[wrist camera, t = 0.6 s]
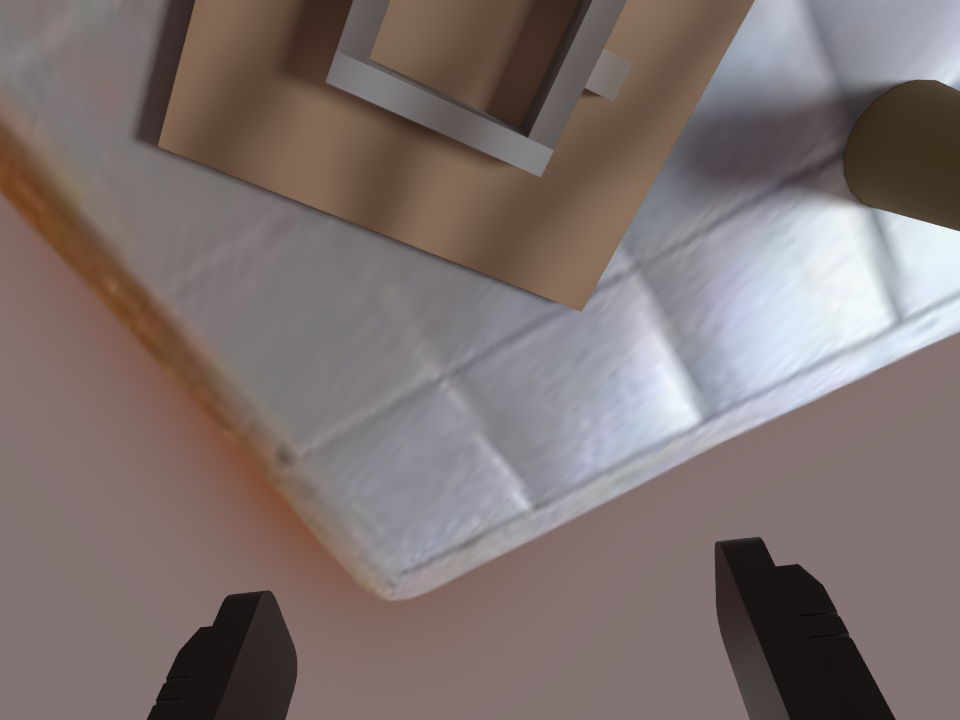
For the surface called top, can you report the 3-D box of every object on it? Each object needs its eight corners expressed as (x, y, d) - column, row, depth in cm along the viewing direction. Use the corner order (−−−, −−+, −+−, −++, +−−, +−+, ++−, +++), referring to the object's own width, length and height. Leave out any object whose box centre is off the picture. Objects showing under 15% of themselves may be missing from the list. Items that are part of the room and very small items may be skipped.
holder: (165, 140, 31) (143, 158, 28) (321, -458, 23) (311, -514, 20) (576, 301, 37) (591, 329, 34) (814, -133, 29) (859, -142, 26)
